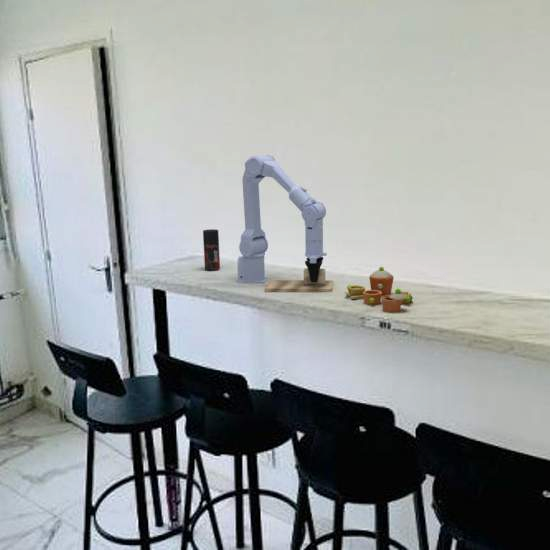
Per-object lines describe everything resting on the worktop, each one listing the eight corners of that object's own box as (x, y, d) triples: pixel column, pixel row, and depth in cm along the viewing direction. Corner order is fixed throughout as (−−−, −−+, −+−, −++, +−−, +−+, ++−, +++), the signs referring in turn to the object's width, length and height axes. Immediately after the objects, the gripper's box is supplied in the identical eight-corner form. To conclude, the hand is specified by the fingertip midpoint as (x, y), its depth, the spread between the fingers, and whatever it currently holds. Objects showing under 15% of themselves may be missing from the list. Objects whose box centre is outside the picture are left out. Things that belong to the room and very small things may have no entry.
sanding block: (303, 285, 199) (303, 270, 198) (304, 282, 203) (304, 268, 202) (324, 285, 198) (324, 271, 197) (325, 283, 202) (325, 268, 201)
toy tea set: (339, 297, 190) (339, 267, 188) (380, 291, 196) (381, 262, 194) (386, 318, 166) (387, 284, 164) (431, 310, 173) (433, 278, 170)
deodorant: (210, 266, 240) (209, 229, 237) (223, 267, 237) (221, 229, 234) (201, 269, 235) (199, 231, 232) (214, 270, 232) (212, 231, 229)
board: (264, 291, 197) (264, 288, 197) (269, 283, 209) (269, 280, 209) (332, 292, 194) (332, 288, 194) (333, 283, 206) (333, 280, 206)
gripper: (325, 243, 190) (325, 285, 193) (327, 236, 204) (327, 275, 207) (303, 243, 191) (303, 285, 194) (306, 236, 205) (306, 275, 208)
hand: (314, 280), depth 200 cm, fingers closed on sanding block, 4 cm apart
